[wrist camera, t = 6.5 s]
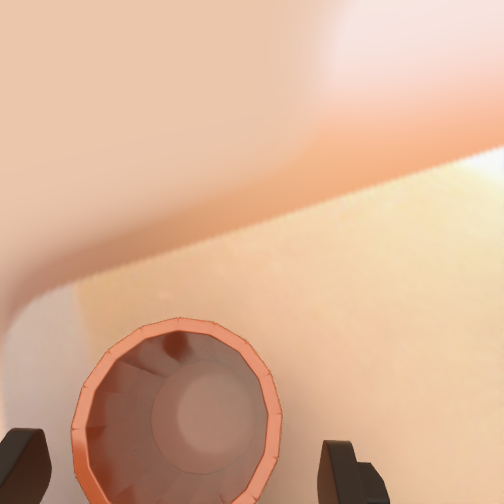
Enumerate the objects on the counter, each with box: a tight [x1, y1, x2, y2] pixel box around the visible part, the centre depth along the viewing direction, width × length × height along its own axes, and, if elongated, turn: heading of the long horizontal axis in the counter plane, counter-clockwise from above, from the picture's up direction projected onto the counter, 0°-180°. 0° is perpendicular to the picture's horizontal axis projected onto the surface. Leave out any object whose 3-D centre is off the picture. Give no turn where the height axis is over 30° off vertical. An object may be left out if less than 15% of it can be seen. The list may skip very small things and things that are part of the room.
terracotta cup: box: [70, 317, 283, 504], centre depth 14 cm, size 5×5×8 cm
